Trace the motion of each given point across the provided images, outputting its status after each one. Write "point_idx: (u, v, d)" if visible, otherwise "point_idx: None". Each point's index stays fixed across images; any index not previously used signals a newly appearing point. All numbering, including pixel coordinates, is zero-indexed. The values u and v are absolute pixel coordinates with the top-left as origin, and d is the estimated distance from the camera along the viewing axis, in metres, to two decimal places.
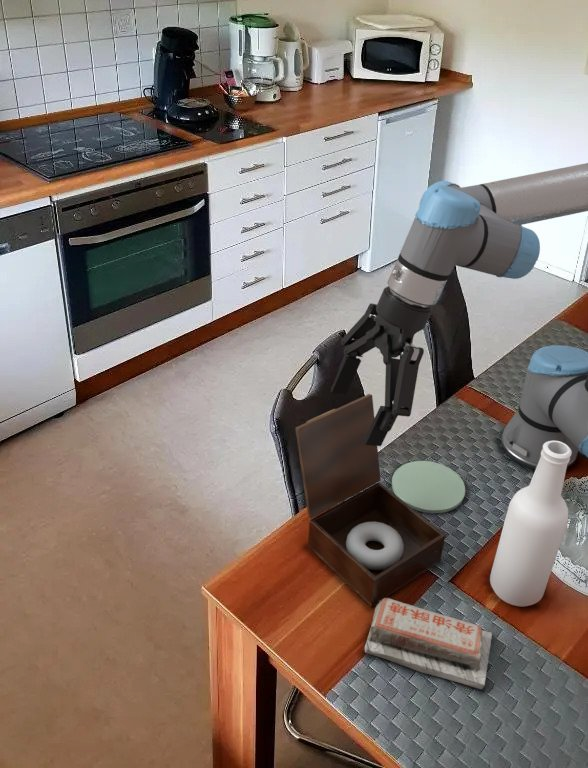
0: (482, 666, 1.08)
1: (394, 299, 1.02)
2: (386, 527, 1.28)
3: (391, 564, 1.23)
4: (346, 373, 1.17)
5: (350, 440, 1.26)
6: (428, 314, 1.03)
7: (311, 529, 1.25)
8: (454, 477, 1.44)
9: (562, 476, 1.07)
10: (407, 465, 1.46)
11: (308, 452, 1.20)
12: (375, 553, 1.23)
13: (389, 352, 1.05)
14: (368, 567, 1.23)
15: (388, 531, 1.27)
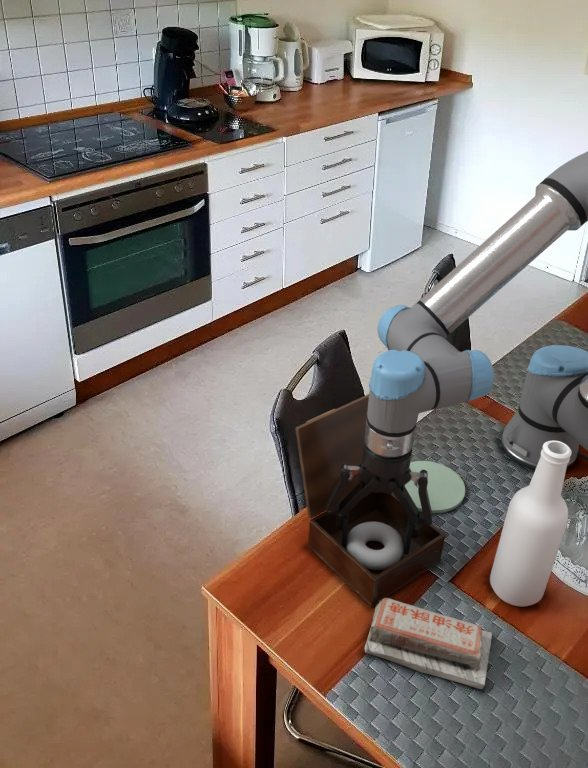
0: (482, 666, 1.08)
1: (397, 460, 1.11)
2: (386, 527, 1.28)
3: (391, 564, 1.23)
4: None
5: (350, 440, 1.26)
6: None
7: (311, 529, 1.25)
8: (454, 477, 1.44)
9: (562, 476, 1.07)
10: None
11: (308, 452, 1.20)
12: (375, 553, 1.23)
13: (401, 491, 1.17)
14: (368, 567, 1.23)
15: (388, 531, 1.27)
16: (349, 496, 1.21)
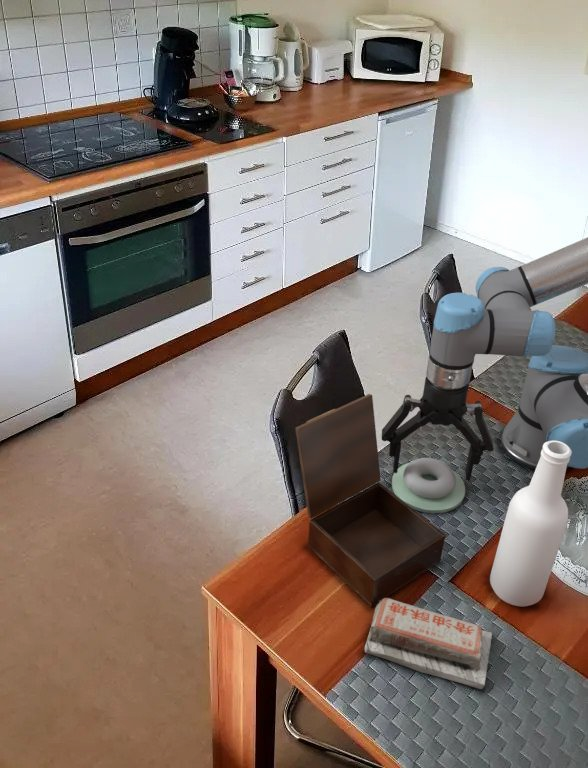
0: (482, 666, 1.08)
1: (456, 392, 1.25)
2: (439, 462, 1.42)
3: (445, 493, 1.37)
4: None
5: (350, 440, 1.26)
6: None
7: (311, 529, 1.25)
8: None
9: (562, 476, 1.07)
10: None
11: (308, 452, 1.20)
12: (431, 483, 1.37)
13: (459, 421, 1.31)
14: (425, 495, 1.37)
15: (441, 466, 1.41)
16: (405, 426, 1.35)
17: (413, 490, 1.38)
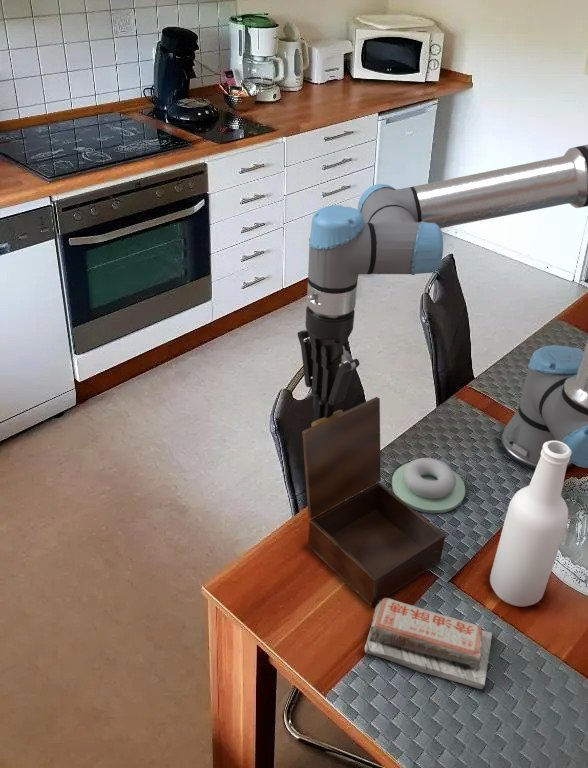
0: (482, 666, 1.08)
1: (319, 319, 1.12)
2: (439, 462, 1.42)
3: (445, 493, 1.37)
4: None
5: (355, 443, 1.25)
6: (353, 317, 1.13)
7: (311, 529, 1.25)
8: None
9: (562, 476, 1.07)
10: None
11: (313, 455, 1.19)
12: (431, 483, 1.37)
13: (327, 362, 1.17)
14: (425, 495, 1.37)
15: (441, 466, 1.41)
16: None
17: (413, 490, 1.38)
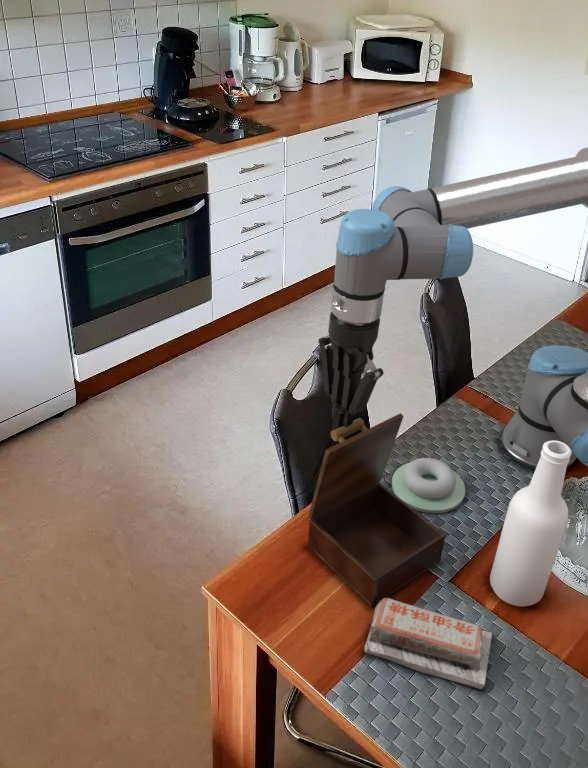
0: (482, 666, 1.08)
1: (344, 326, 1.08)
2: (439, 462, 1.42)
3: (445, 493, 1.37)
4: None
5: (369, 455, 1.23)
6: (378, 325, 1.09)
7: (311, 529, 1.25)
8: None
9: (562, 476, 1.07)
10: None
11: (329, 470, 1.17)
12: (431, 483, 1.37)
13: (350, 371, 1.13)
14: (425, 495, 1.37)
15: (441, 466, 1.41)
16: None
17: (413, 490, 1.38)
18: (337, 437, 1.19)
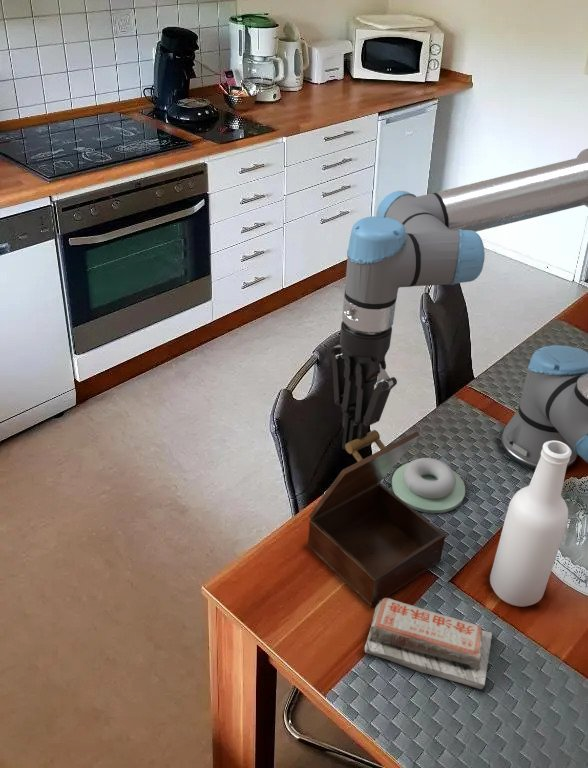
0: (482, 666, 1.08)
1: (356, 335, 1.06)
2: (439, 462, 1.42)
3: (445, 493, 1.37)
4: None
5: (379, 467, 1.22)
6: (390, 334, 1.08)
7: (311, 529, 1.25)
8: None
9: (562, 476, 1.07)
10: None
11: (341, 484, 1.16)
12: (431, 483, 1.37)
13: (362, 381, 1.11)
14: (425, 495, 1.37)
15: (441, 466, 1.41)
16: None
17: (413, 490, 1.38)
18: (352, 451, 1.17)
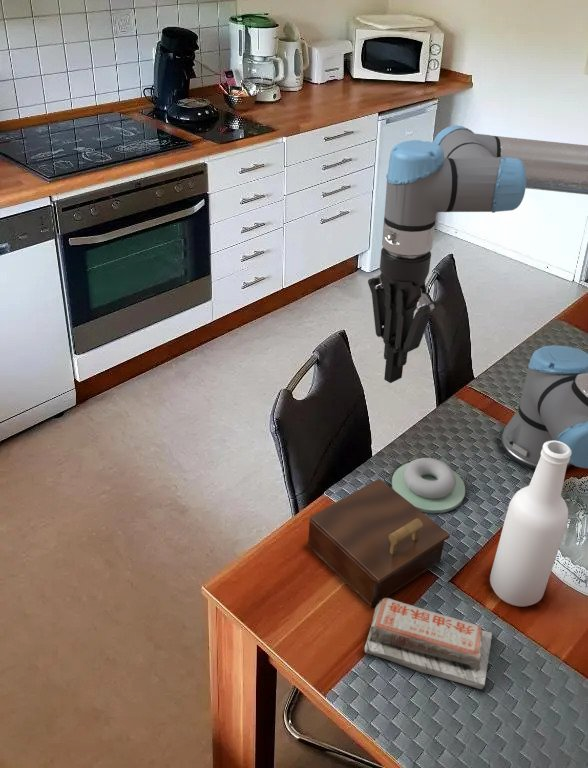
0: (482, 666, 1.08)
1: (397, 260, 1.09)
2: (439, 462, 1.42)
3: (445, 493, 1.37)
4: None
5: None
6: (430, 258, 1.10)
7: (311, 529, 1.25)
8: None
9: (562, 476, 1.07)
10: None
11: None
12: (431, 483, 1.37)
13: (403, 307, 1.14)
14: (425, 495, 1.37)
15: (441, 466, 1.41)
16: None
17: (413, 490, 1.38)
18: (393, 544, 1.16)
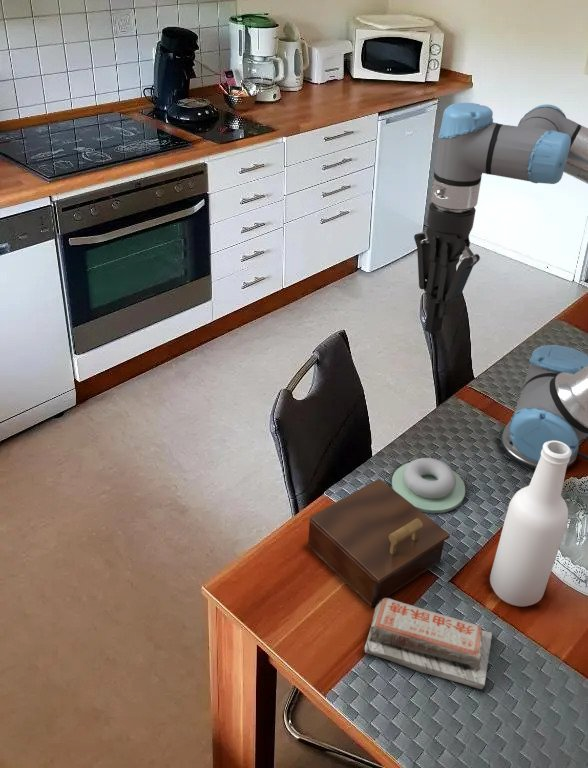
0: (482, 666, 1.08)
1: (445, 213, 1.18)
2: (439, 462, 1.42)
3: (445, 493, 1.37)
4: None
5: None
6: (474, 213, 1.20)
7: (311, 529, 1.25)
8: None
9: (562, 476, 1.07)
10: None
11: None
12: (431, 483, 1.37)
13: (447, 259, 1.23)
14: (425, 495, 1.37)
15: (441, 466, 1.41)
16: None
17: (413, 490, 1.38)
18: (393, 544, 1.16)
